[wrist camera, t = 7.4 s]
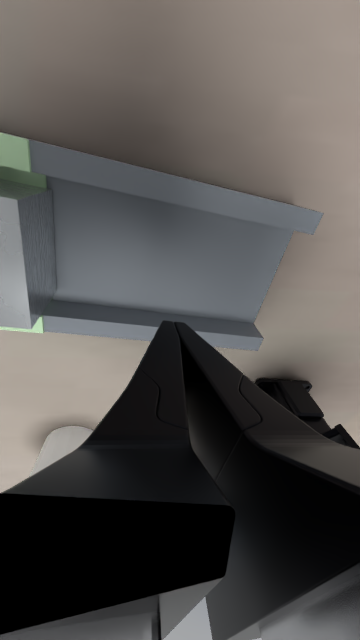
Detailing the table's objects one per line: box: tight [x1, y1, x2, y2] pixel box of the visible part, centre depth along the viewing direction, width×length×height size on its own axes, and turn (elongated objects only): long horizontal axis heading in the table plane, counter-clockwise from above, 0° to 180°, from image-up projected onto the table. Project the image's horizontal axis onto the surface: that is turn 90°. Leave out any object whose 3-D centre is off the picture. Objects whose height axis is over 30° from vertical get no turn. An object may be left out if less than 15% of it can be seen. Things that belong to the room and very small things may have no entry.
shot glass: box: [29, 426, 93, 477], centre depth 24 cm, size 7×7×7 cm
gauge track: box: [0, 132, 324, 351], centre depth 14 cm, size 10×23×5 cm, turn 77°
